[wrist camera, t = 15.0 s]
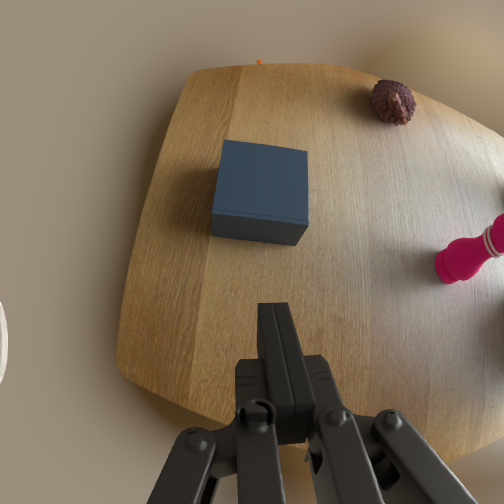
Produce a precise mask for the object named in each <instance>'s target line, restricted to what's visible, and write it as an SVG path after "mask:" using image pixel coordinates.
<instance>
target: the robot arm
mask: <svg viewBox="0 0 504 504" xmlns="http://www.w3.org/2000/svg"><path fill="white" fill-rule="evenodd" d="M257 352H258V359H240V360H239V362H238V363H237V365H236V367H235V397H236V411H235V418H234V420H233V421H232V422H231V423H230V424H229V425H228V426H226V427H224V428H221V429H219V430H214V431H208V430H206V429H204V428H198V427H193V428H188V429H186V430H184V431H182V432H181V433H180V434H179V436H178V437H177V439H176V441H175V443H174V445H173V447H172V450H171V452H170V454H169V456H168V458H167V461H166V463H165V465H164V467H163V469H162V471H161V474H160V476H159V478H158V480H157V482H156V484H155V487H154V489H153V491H152V493H151V495H150V497H149V499H148V502H147V504H212V502H213V499H214V496H215V493H216V490H217V487H218V484H219V481H220V478H222V477H225V476H229V475H232V474H236V473H237V481H238V482H237V483H238V504H286V501H285V495H284V487H283V480H282V473H281V466H280V458H279V451H278V445H285V444H296V443H305V441H306V438H307V439H308V443H309V447H308V450H307V453H306V456H305V462H307V461H308V459H309V464H310V469H311V474H312V479H313V484H314V489H315V494H316V499H317V504H384V503H385V504H479V503H478V502H477V501H476V500H475V498H474V497H473V496H472V495H471V494H470V492H469V491H468V490H467V489H466V488H465V486H464V485H463V484H462V483H461V482H460V480H459V479H458V478H457V477H456V476H455V474H454V473H453V472H452V471H451V470H450V469H449V467H448V466H447V465H446V464H445V463H444V461H443V460H442V459H441V458H440V457H439V455H438V454H437V453H436V452H435V451H434V450H433V448H432V447H431V446H430V445H429V444H428V442H427V441H426V440H425V439H424V438H423V437H422V435H421V434H420V433H419V432H418V431H417V429H416V428H415V427H414V426H413V425H412V424H411V422H410V421H409V420H408V419H407V418H406V417H405V415H403V414H402V413H401V412H399V411H397V410H392V409H387V410H383V411H381V412H380V413H379V414H377V416H376V417H370V416H360V415H356V414H354V413H352V412H351V410H349V409H348V408H346V407H345V406H344V404H343V402H342V399H341V397H340V394H339V391H338V388H337V386H336V383H335V380H334V379H333V375H332V372H331V369H330V367H329V364H328V362H327V361H326V360H325V359H324V358H323V357H322V356H321V355H309V356H303V353H302V350H301V346H300V343H299V340H298V336H297V333H296V329H295V326H294V323H293V319H292V316H291V312H290V309H289V306H288V302H286V303H258V319H257Z"/></svg>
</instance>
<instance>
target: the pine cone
mask: <svg viewBox="0 0 504 504" xmlns="http://www.w3.org/2000/svg"><path fill="white" fill-rule="evenodd" d="M372 94H373V95H372V97H371V98H372V101H373V106H374V107H375V108H376V111H377V113H378V114H379V115H380V118H381V119H383V120H385V122H389V123H393V124H395V125H396V126H398V125H406V124H407V122H408V121H410V120H411V117H412V116H413V112H414V111H415V107H416V102H415V101H414V97H413V95H412V93H411V91H410V90H409V89H408V88H407V87H406V86H404V85H403V84H402V83H399V82H395V81H390V80H379V81H378V84H376V85H375V86H374V88H373V91H372Z"/></svg>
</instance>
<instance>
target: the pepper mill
mask: <svg viewBox="0 0 504 504" xmlns="http://www.w3.org/2000/svg"><path fill="white" fill-rule="evenodd" d="M503 255H504V214H501V215H499V216H498V217H497V218H496V219H495V221H494V223H493V225H490V226H489V227H487V228H486V229H485V230H484V233H483V234H482V235H480V236H479V237H476V238H459V239H456V240H454V241H452V242H451V243H450V244H449V245H448V247H447V248H446V249H444V250H442V251H441V252H439V253H438V255H437V256H436V260H435V266H436V271H437V273H438V275H439V277H440V278H441V279H442V280H443V281H444V282H445V283H448V284H452V283H454V282H456V281H458V280H462V281H464V280H468V279H470V278H471V277H473V276H474V275H475V274H476V273H477V272H478V271H479V269H480V268H481V266H482V265H483V263H484V262H485V261H486V260H488V259H489V258H491V257H494V258H499V257H500V256H503Z"/></svg>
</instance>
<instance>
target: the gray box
mask: <svg viewBox="0 0 504 504" xmlns="http://www.w3.org/2000/svg"><path fill="white" fill-rule="evenodd" d="M211 218H212V236H215V237H224V238H233V239H241V240H250V241H259V242H267V243H276V244H284V245H293V246H296V244H297V243H298V241H299V240H300V238H301V236H302V235H303V233H304V232H305V230H306V229H307V227H308V226H309V191H308V154H307V151H302V150H296V149H290V148H284V147H277V146H271V145H264V144H256V143H248V142H240V141H231V140H224V143H223V148H222V154H221V159H220V165H219V170H218V176H217V182H216V188H215V194H214V200H213V206H212V212H211Z"/></svg>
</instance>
